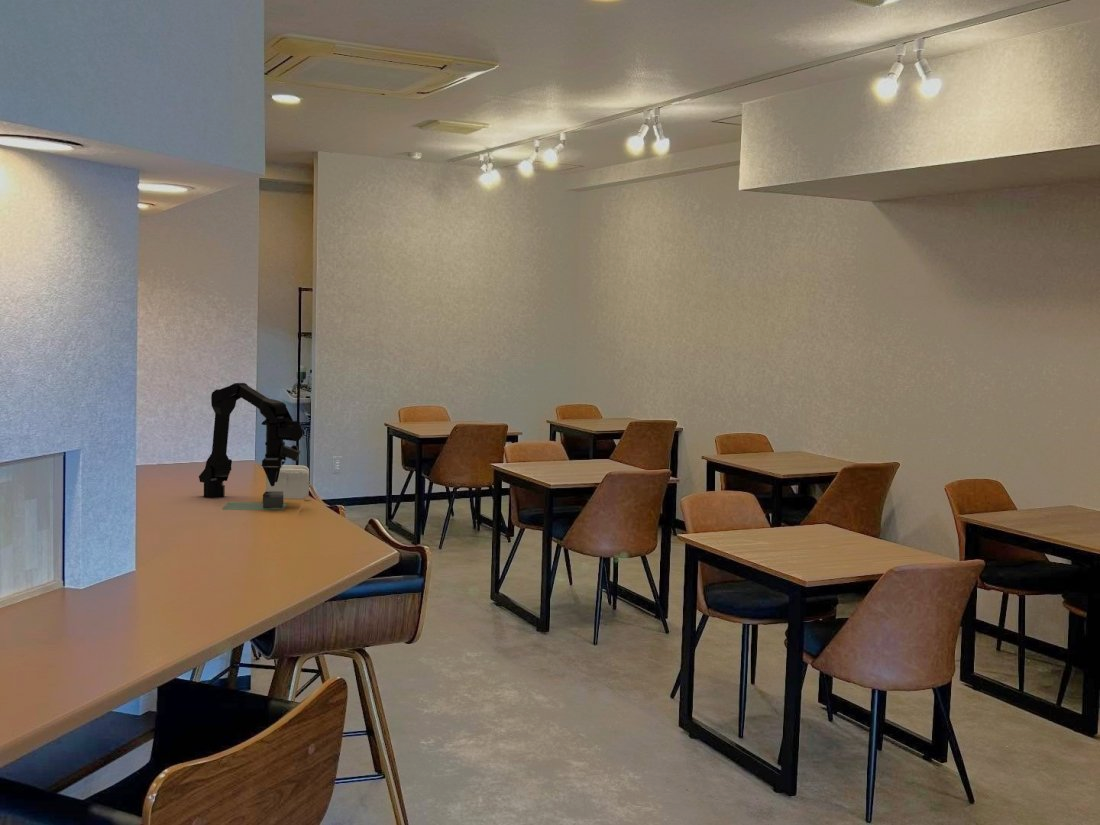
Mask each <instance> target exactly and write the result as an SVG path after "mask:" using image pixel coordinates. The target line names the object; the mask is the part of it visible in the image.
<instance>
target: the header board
mask: <svg viewBox="0 0 1100 825" xmlns="http://www.w3.org/2000/svg"><path fill="white" fill-rule="evenodd" d="M287 505H288V502H283V505H282V507H281V508H263V502H235V501H234V502H229V501H228V502H227V503H226V504H225V505H224V506H223V507H222V508H221V509H222V511H224V510H225V511H229V510H230V511H234V510H235V511H284V509H285V508H286V506H287Z"/></svg>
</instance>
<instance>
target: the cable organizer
mask: <svg viewBox="0 0 1100 825" xmlns="http://www.w3.org/2000/svg"><path fill="white" fill-rule="evenodd" d="M265 476H266V477H265V480H266V481H265V492H270V491H283V500H284V499H286V500H287V499H289V500H293V499H294V500H305V499H307V498H308V497H309V494H310V490H309V489H310V469H309V467H308V466H306V465H301V464H300V465H297V464H295V465H290V464H289V465H288V464H283V465H282V467H281V468H280V472H279V477H278V481H277V482H275V485H274V486H271V485H270V483H269V480H268V478H267V475H266V474H265Z"/></svg>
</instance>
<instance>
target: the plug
mask: <svg viewBox="0 0 1100 825" xmlns="http://www.w3.org/2000/svg"><path fill="white" fill-rule="evenodd" d="M262 503H263V508H281V507H282V505H283V503H284V499H283V491H270V492H266V491H265V492H264V493H263V494H262Z"/></svg>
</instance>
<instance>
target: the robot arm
mask: <svg viewBox="0 0 1100 825" xmlns="http://www.w3.org/2000/svg"><path fill="white" fill-rule="evenodd" d="M210 397H211V399H210V400H211V401H210V402H211V408H212V410H213V412H214V422H213V423H214V424H213V435H212V436H213V437H212V447H211V448H212V449H211V453H210V455H209V456H208V458H207V460H206V463H205V467H204V469H203V471H201V473H200V474H199V475H198V480H199V482H200V483H203V498H207V499H219V498H224V497H225V495H226V491H225V490H226V485H225V484H224V482H228V479H229V475H230V473H231V471H232V462H233V461H232V459H229V456H228V455H227V451H228V438H229V430H230V417H231V414H232V412H233V410H234V409H235V408H236V404H237V401H239V400H240V399H243V400H244V401H246V402H248V404H249V403H250V404H251V405H252V406H254V407H256V408H257V409H258V410H259V413H260V414H261V415H262V416H263V417H264V418H265V420H263V421H262V422H261V425H262V426H265V430H266V432H265V442H264V445H265V454H264V458H263V459H262V460H261V467H262V469H263V472H264V474H265V476H266V475H267V478H268V480H269V483H270V485H271V486H274V485H275V482H277V481H278V477H279V472H280V468H281V467H282V465H285V463H286V460H287V458H288V459H290V460H292V461H294V462H297V461H298V459H299V457H300V455H301V450H299V448H298V445H295V444H293V445H291V447H290V446H288V445H286V443H285V441H290V442H298V441H300V440H301V439H302V437H303V435H304V434H303V432H304V431H303V429H302V428H303V427H302V426H301V425H300V424H299V421H298V420H293V418H292V415H291V414H290V412H289V410H288V408H287V405H286V403H285V402H283V401H280V400H277V399H273V398H272V399H271V398H269V397H267V396H265V395H264V394H262V393H260V392H259V391H257V390H256V389H254V388H253V387H251V386H249V385H248V384H247V383H245V382H235V383H232V384H230V385H228V386H225V387H223V388H219V389H218V388H216V389H215V390H214V391H212V393H211V396H210Z"/></svg>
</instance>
